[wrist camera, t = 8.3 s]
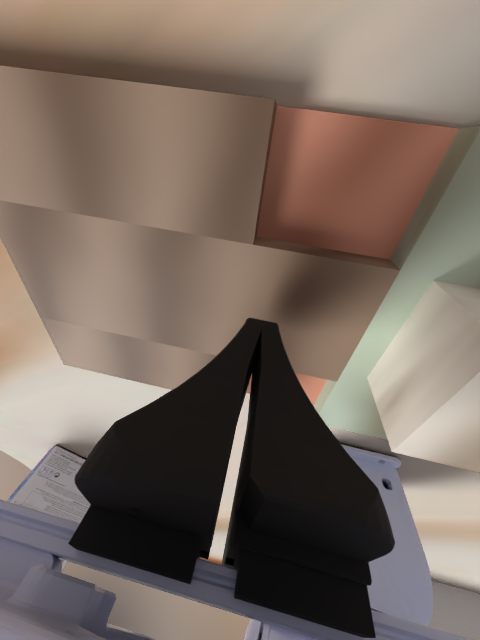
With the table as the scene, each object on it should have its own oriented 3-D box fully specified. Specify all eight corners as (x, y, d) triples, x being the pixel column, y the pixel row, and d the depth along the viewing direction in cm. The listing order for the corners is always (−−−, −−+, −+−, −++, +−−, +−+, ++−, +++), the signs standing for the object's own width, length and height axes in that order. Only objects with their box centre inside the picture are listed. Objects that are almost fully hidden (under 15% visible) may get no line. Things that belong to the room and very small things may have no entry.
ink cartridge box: (47, 451, 35) (-74, 597, 24) (54, 442, 32) (-79, 604, 21) (105, 479, 38) (22, 623, 26) (117, 473, 35) (30, 631, 23)
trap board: (764, 168, 7) (861, 170, 6) (438, 433, 17) (449, 454, 15) (-43, 66, 9) (-92, 54, 8) (78, 351, 19) (64, 364, 18)
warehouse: (485, 591, 36) (523, 679, 30) (431, 598, 45) (453, 668, 39) (293, 540, 39) (293, 610, 33) (277, 556, 48) (275, 614, 42)
